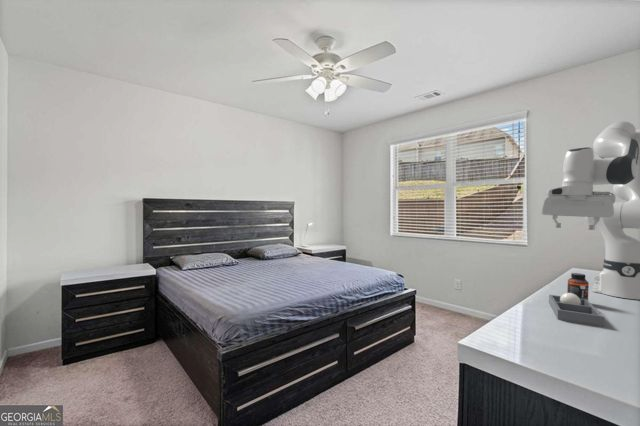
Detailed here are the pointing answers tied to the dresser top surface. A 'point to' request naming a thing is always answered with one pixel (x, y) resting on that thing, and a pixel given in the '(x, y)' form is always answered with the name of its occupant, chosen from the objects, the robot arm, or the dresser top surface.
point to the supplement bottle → (578, 285)
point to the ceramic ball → (570, 299)
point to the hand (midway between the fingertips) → (574, 228)
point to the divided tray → (576, 311)
